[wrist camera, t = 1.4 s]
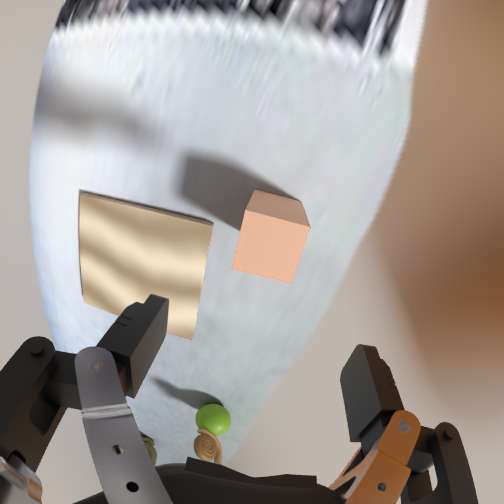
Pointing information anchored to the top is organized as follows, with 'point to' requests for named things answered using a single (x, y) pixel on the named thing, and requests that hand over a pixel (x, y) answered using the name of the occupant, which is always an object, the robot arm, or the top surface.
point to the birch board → (142, 258)
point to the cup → (150, 448)
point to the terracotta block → (271, 237)
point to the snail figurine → (211, 431)
